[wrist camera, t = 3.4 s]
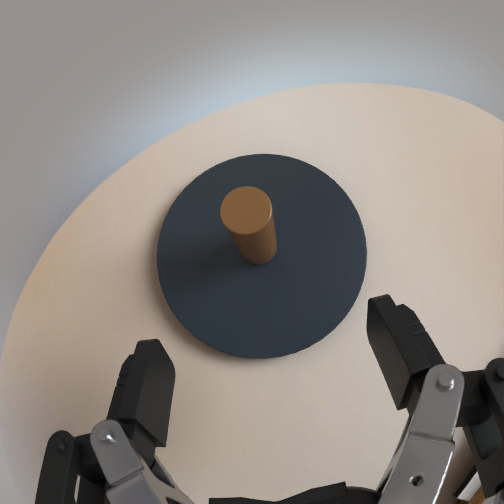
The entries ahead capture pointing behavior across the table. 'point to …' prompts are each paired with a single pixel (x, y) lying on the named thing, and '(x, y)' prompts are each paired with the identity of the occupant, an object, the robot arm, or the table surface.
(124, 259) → the table surface
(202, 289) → the lid
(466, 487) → the book
